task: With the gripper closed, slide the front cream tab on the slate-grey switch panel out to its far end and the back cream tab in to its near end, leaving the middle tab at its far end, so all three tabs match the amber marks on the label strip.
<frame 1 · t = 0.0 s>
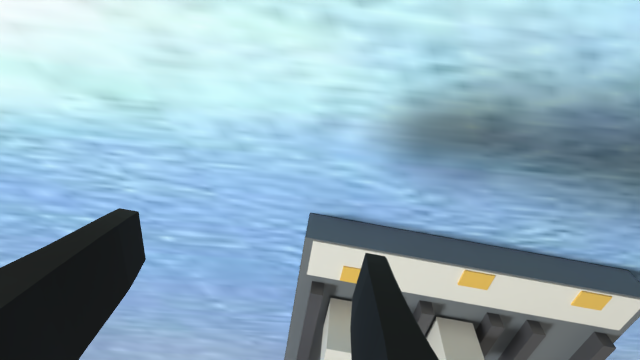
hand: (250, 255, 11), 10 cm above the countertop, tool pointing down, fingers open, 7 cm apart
switch panel: (432, 315, 26), on the countertop
tab middle: (452, 359, 22), point 4 cm above the countertop, slide at 5.0 cm
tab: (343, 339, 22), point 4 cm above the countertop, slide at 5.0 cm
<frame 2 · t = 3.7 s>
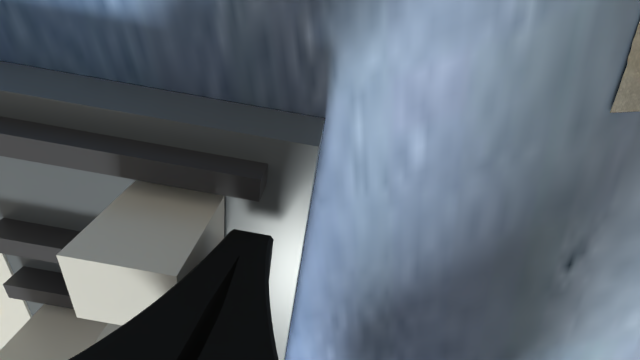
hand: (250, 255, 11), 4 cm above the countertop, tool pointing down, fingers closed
switch panel: (151, 282, 18), on the countertop
tab middle: (61, 356, 14), point 4 cm above the countertop, slide at 5.0 cm
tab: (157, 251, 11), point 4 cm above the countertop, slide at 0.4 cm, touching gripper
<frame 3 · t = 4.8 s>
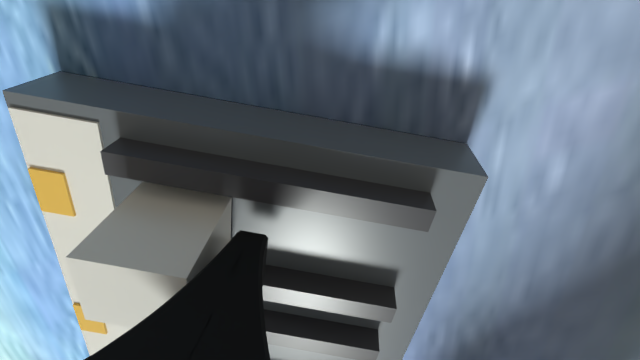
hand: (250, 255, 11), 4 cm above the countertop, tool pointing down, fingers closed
switch panel: (250, 299, 18), on the countertop
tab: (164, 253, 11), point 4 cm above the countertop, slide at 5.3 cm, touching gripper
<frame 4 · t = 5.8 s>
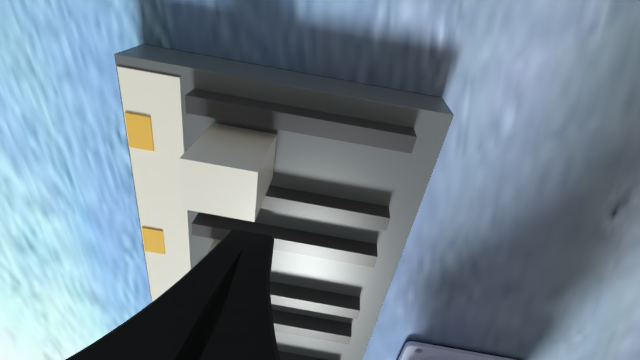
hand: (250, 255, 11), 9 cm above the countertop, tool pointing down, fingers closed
switch panel: (274, 233, 23), on the countertop
tab middle: (231, 280, 19), point 4 cm above the countertop, slide at 5.0 cm
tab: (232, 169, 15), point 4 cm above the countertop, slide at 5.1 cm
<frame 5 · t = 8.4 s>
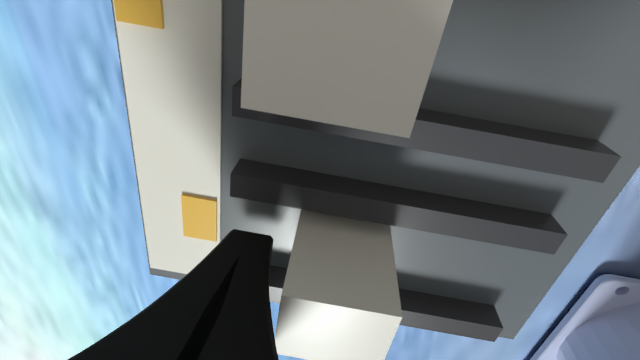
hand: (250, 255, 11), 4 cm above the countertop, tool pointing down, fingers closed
switch panel: (394, 21, 11), on the countertop
tab middle: (341, 34, 7), point 4 cm above the countertop, slide at 5.0 cm
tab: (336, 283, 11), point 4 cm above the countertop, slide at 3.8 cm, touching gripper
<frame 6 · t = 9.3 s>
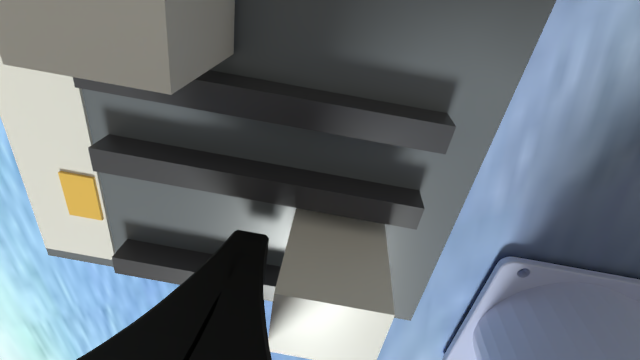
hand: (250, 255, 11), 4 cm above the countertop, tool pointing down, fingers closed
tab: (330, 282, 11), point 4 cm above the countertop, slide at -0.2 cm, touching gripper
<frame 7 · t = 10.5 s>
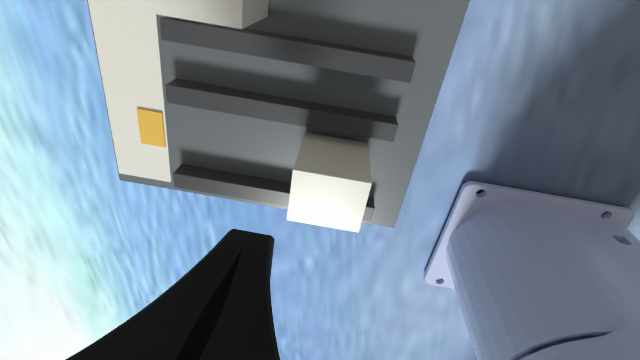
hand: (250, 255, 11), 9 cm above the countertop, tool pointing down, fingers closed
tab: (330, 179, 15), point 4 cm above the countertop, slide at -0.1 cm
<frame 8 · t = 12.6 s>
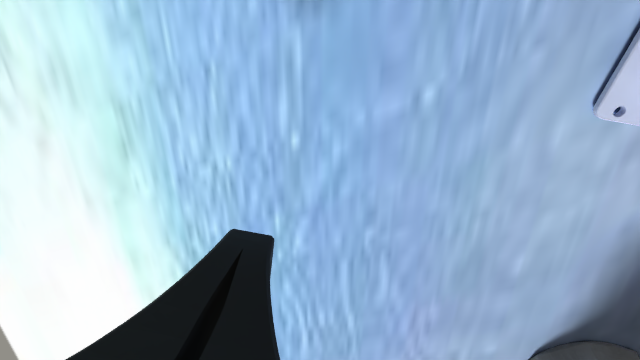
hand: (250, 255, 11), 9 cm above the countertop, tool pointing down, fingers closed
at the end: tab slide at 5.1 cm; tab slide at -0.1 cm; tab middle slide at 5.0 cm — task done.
